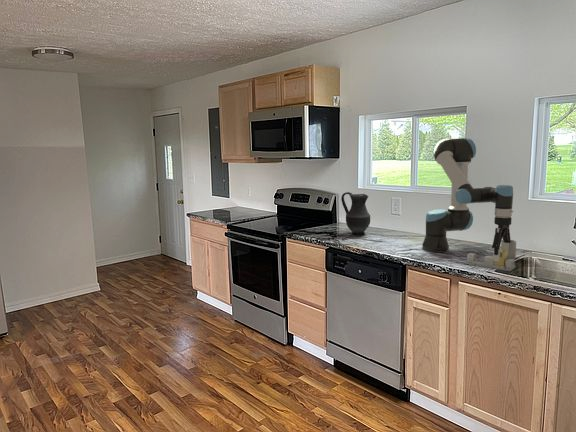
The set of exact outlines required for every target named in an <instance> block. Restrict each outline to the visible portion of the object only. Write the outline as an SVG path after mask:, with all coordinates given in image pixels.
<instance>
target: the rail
mask: <svg viewBox="0 0 576 432" xmlns="http://www.w3.org/2000/svg"><path fill="white" fill-rule="evenodd" d="M464 264H465V265H468V264H470V266H474V265H476V267H480V266H482V267H481V268H486V267H487V269H492V270H498V271H499V270H500V271H504V272H505V271H506V272H512V271H513V270H514V269H516V268H517V266H516V260H515V258H513V259H507V260H506V263H505V266H499V265H494V261H493V255H485V256H484V259H481V258H477V254H476V253H473V252H469V253H467V255H466V261H465V262H464Z"/></svg>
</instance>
